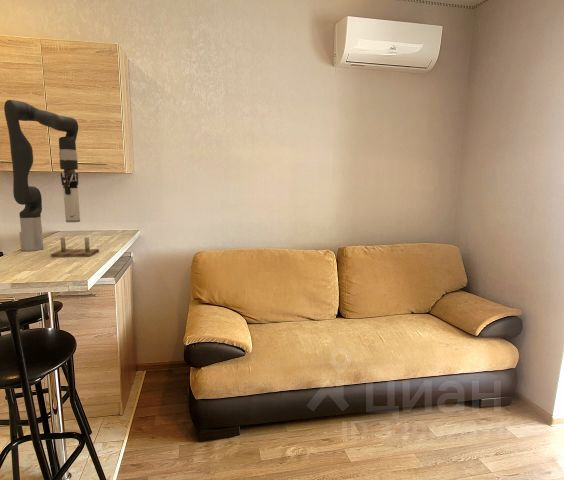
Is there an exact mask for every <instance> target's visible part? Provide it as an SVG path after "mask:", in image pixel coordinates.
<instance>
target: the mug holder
mask: <svg viewBox="0 0 564 480" xmlns="http://www.w3.org/2000/svg"><path fill="white" fill-rule="evenodd" d="M59 240H60V249H59V250H58V251H55V252H53V253H51V254H50V258H83V257H85V258H87V257H88V258H89V257H92V256H95V255H96V254H98V253H100V249H99V248H91V247H90V237H87V236H85V237H84V248H80V249H79V248H75V249H74V248H71V249H70V248H69V249H67V247H66V237H60V239H59Z"/></svg>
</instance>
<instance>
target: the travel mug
mask: <svg viewBox="0 0 564 480" xmlns="http://www.w3.org/2000/svg"><path fill="white" fill-rule="evenodd" d="M62 188H63V190H62V191H63V202H64V215H65V222H66V223H80V222H81V214H80V201H79V187H78V185H77V181H73V182H71V183H70V190H71V194H70V195H66V194H65V187H64V185H62Z"/></svg>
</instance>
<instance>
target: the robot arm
mask: <svg viewBox="0 0 564 480" xmlns="http://www.w3.org/2000/svg"><path fill="white" fill-rule="evenodd" d="M3 109H4V116H5V121H6V124H7V131H8V138H9V145H10V156H11V157H10V158H11V162H12V163H11V164H12V174H13V175H12V176H13V177H12V178H13V182H12V183H13V185H12V186H13V187H12V188H13V189H12V190H13V194H12V195H13V199H14V201H16V203H17V204H18V205H22V206H23V205H24V208H23V209H22V210H21V211H19V214H18V215H19V221H20V222H19V223H20V232H19V233H18V234H19V244H20V251H24V252H31V251H34V252H35V251H40V250H43V249H44V248H45V247H44V238H43V237H44V236H43V228H42V227H43V226H42V216H41V215H42V214H41V213H42V211H43V205H42V202H43V201H42V194H41V191H40V189H39V188H38V187H36V186H29V180H28V179H29V173H30V171H31V169H32V166H33V164H34V152H33V146H32V144H31V143H30V141H29V140H28V138H27V137H26V135H25V134H24V133H23V131H22V129H21V124H20V121H22V122H37V123H39V124H40V125H42V126H45V127H49V128H51V129H53V130H56V131H59V132H65V136H61V137H59V138H58V149H59V153H58V155H59V156H58V157H59V168H60V170H63V172H60V178H61V179H60V180H61V181H60V182H61V185H62V186H63V185H64V187H65V194H66V195H70V194H71V190H70V183H71V182H73V181H77V186H78V185H79V173H78V172H76V171H75V170H77V171H78V169H79V163H78V153H77V144H76V143H77V142H76V141H77V136H78V131H79V124H78V121H77V120H76V119H75V118H74V117H71V116H70V117H69V116H65V115H59V114H57V113H55V112H51V111H47V110H42V109H39V108H37V107H35V106H33V105H31V104H30V103H27V102H24V101H20V100H15V99H7V100H6V101H5V102H4V106H3Z"/></svg>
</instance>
